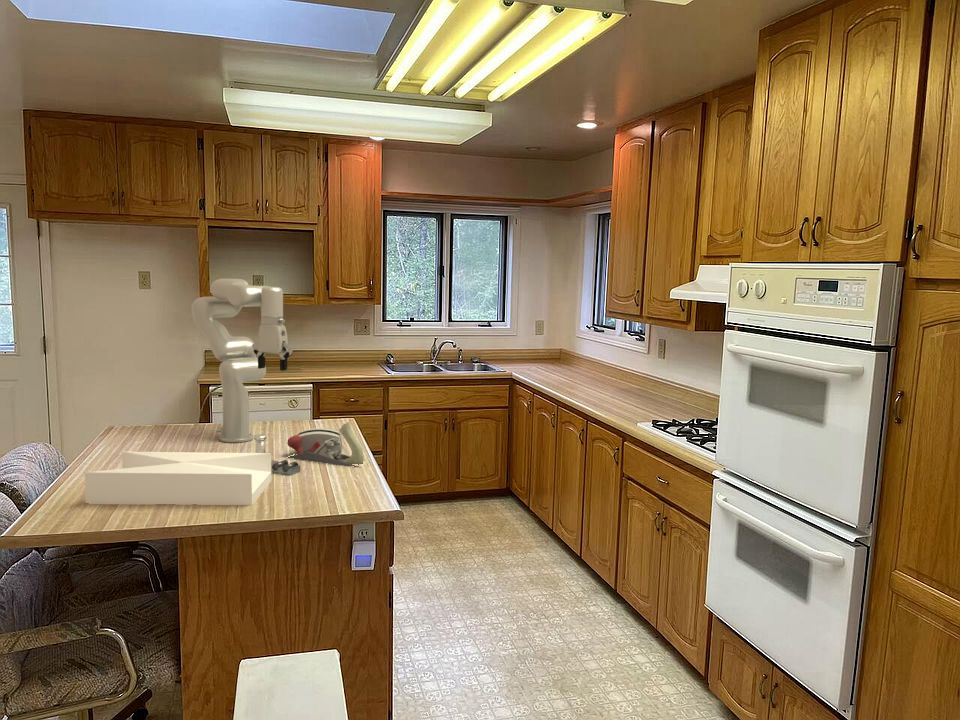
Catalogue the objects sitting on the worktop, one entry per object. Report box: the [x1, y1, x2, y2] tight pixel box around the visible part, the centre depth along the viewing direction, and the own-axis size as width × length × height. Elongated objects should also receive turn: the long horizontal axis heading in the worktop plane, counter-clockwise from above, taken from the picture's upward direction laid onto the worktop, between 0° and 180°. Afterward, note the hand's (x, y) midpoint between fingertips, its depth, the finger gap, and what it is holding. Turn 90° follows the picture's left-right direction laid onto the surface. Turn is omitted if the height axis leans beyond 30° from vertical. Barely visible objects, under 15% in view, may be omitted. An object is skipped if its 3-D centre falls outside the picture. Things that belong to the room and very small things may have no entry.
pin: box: [253, 433, 268, 453], centre depth 224 cm, size 4×4×11 cm
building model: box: [84, 450, 272, 506], centre depth 198 cm, size 45×22×10 cm, turn 93°
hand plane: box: [286, 421, 365, 468], centre depth 236 cm, size 7×31×15 cm, turn 70°
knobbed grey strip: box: [271, 459, 301, 476], centre depth 226 cm, size 32×7×3 cm, turn 68°
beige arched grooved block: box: [297, 427, 343, 453], centre depth 247 cm, size 17×5×10 cm, turn 98°
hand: (272, 369), depth 243 cm, fingers open, 9 cm apart
